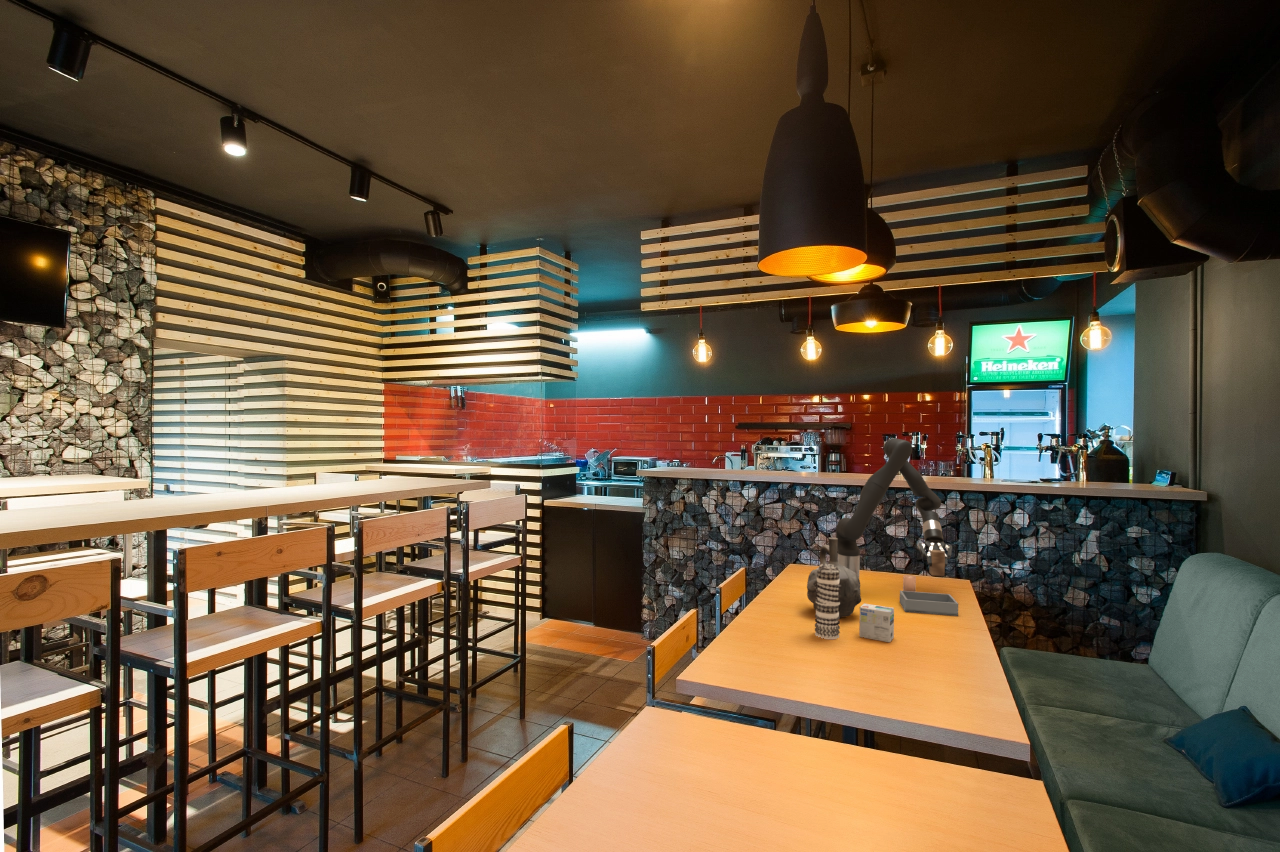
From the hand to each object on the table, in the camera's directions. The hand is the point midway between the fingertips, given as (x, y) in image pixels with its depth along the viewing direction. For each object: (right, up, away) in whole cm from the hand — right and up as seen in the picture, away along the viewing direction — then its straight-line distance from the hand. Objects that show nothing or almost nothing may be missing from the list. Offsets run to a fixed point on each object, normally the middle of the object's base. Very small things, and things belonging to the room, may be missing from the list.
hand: (938, 565), depth 275 cm
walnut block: (0, -4, +2) cm, 5 cm away
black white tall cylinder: (-61, -15, -45) cm, 77 cm away
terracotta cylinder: (-11, -16, +4) cm, 19 cm away
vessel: (-50, -15, -18) cm, 55 cm away
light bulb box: (-43, -16, -46) cm, 65 cm away
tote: (-9, -16, -10) cm, 21 cm away
